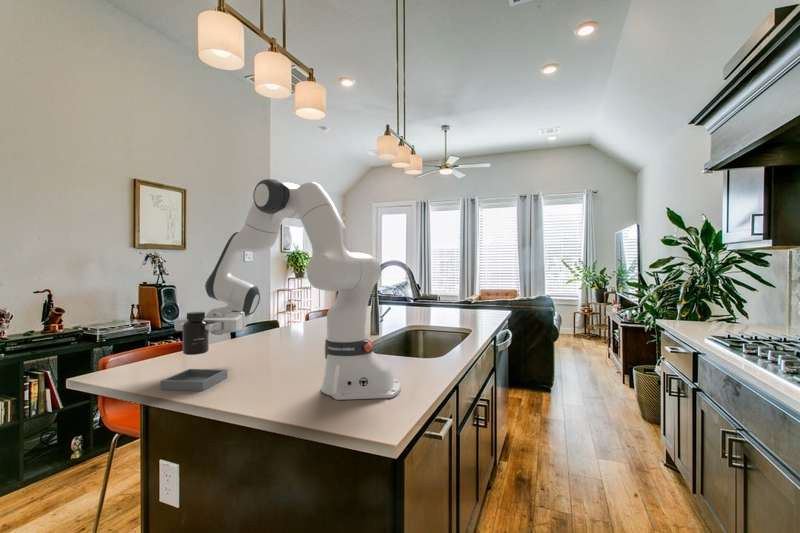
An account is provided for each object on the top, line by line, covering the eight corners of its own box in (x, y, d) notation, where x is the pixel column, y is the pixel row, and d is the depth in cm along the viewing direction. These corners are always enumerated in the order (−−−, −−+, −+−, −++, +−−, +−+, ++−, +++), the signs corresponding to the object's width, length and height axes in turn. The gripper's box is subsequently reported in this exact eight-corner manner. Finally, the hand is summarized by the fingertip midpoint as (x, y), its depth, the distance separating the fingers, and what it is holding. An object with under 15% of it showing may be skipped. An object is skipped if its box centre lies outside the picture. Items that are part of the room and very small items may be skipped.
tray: (227, 377, 119) (227, 369, 119) (202, 390, 106) (202, 381, 106) (189, 376, 120) (189, 368, 120) (160, 389, 107) (160, 380, 107)
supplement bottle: (197, 355, 109) (197, 314, 109) (177, 354, 111) (176, 313, 110) (214, 350, 116) (213, 311, 116) (194, 349, 117) (193, 310, 117)
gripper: (190, 311, 127) (160, 317, 113) (249, 311, 125) (226, 317, 111) (190, 330, 127) (161, 338, 113) (249, 330, 125) (226, 338, 111)
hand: (193, 327), depth 112 cm, fingers closed on supplement bottle, 7 cm apart
